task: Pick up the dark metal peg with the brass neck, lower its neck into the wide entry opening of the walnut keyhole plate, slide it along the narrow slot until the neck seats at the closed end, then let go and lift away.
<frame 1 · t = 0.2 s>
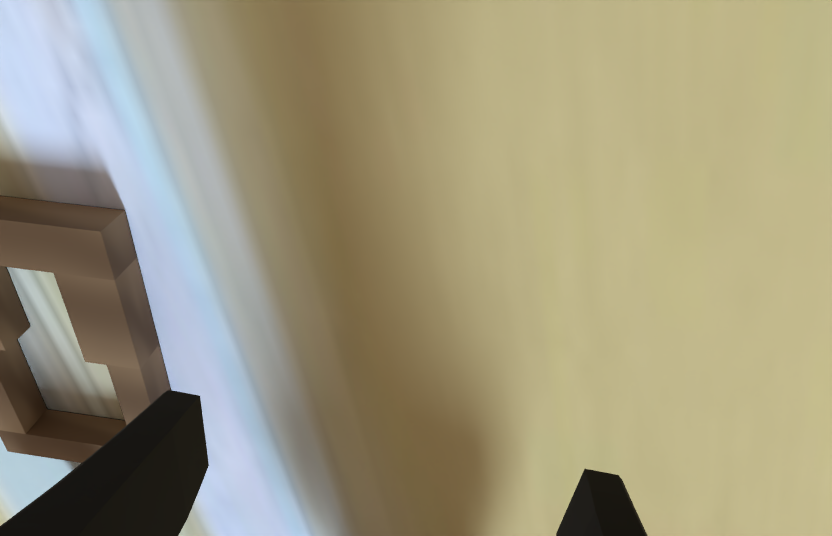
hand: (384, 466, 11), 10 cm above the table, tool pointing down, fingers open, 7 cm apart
keyhole plate: (69, 335, 25), on the table
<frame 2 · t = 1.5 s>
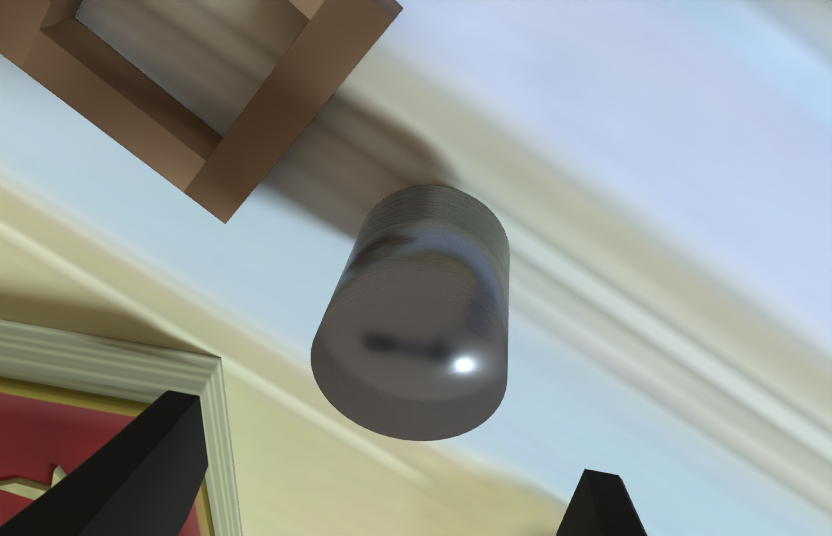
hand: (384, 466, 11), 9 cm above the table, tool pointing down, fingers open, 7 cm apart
peg: (439, 223, 19), on the table
hardcover book: (136, 477, 30), on the table
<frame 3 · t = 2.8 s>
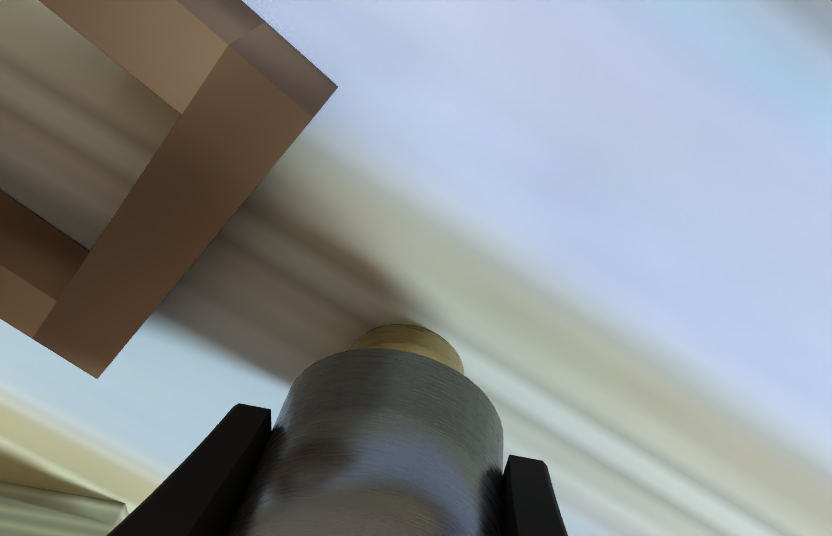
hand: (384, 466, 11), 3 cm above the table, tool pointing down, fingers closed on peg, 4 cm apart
peg: (405, 370, 13), on the table, touching gripper
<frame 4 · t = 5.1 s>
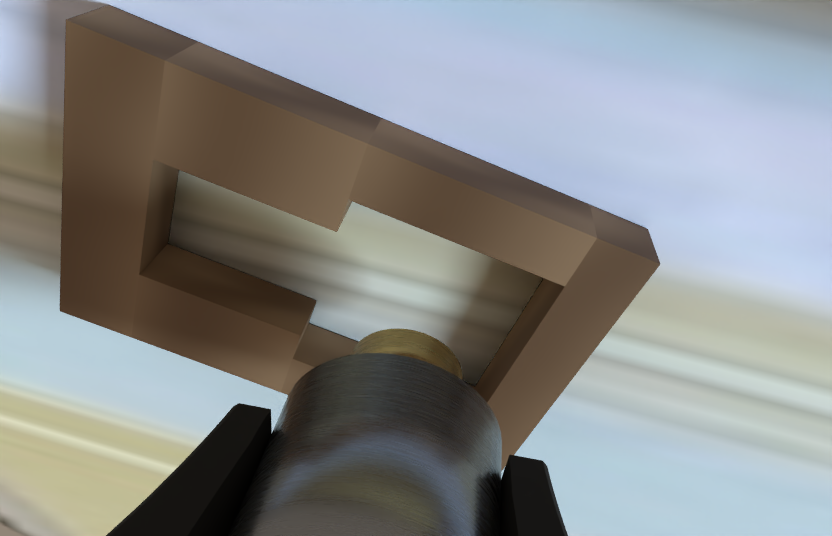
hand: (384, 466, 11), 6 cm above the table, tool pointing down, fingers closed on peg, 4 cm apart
peg: (404, 373, 14), point 3 cm above the table, touching gripper
keyhole plate: (340, 256, 16), on the table
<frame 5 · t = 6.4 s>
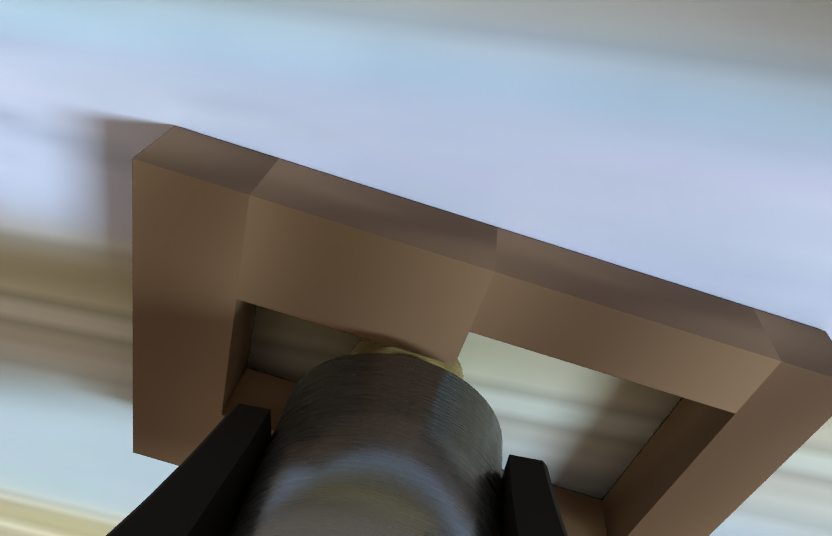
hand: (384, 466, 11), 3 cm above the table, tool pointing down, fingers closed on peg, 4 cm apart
peg: (405, 373, 14), resting in keyhole plate, touching gripper
keyhole plate: (445, 374, 14), on the table
when the fingers open (3 cm above the table, at t = 7.4 s): peg stays where it is, resting in keyhole plate.
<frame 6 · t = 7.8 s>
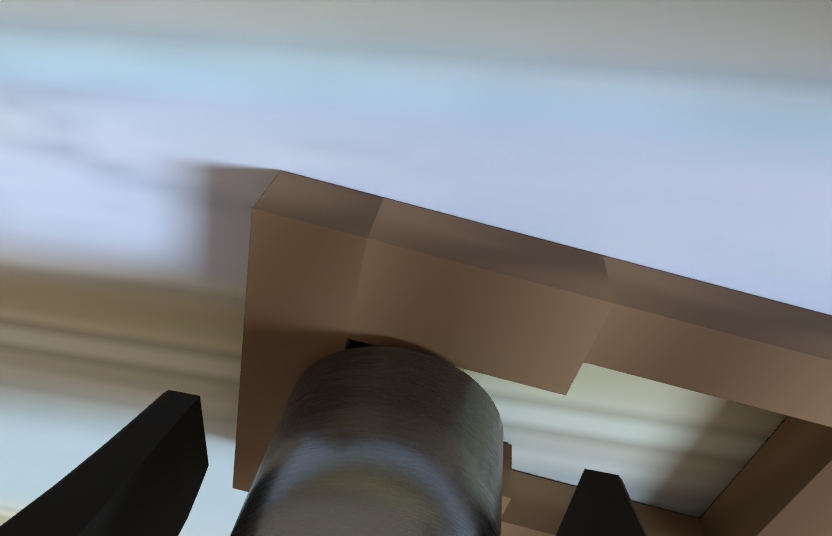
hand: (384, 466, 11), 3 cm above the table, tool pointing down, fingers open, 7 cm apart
peg: (407, 367, 14), resting in keyhole plate
keyhole plate: (542, 400, 14), on the table
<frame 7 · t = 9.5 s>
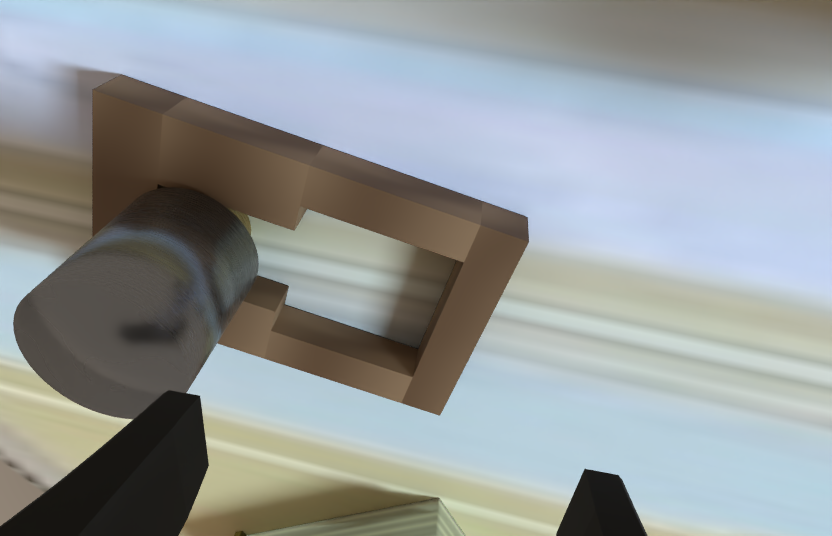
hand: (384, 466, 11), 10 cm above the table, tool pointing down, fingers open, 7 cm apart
peg: (214, 222, 20), resting in keyhole plate
keyhole plate: (303, 250, 21), on the table
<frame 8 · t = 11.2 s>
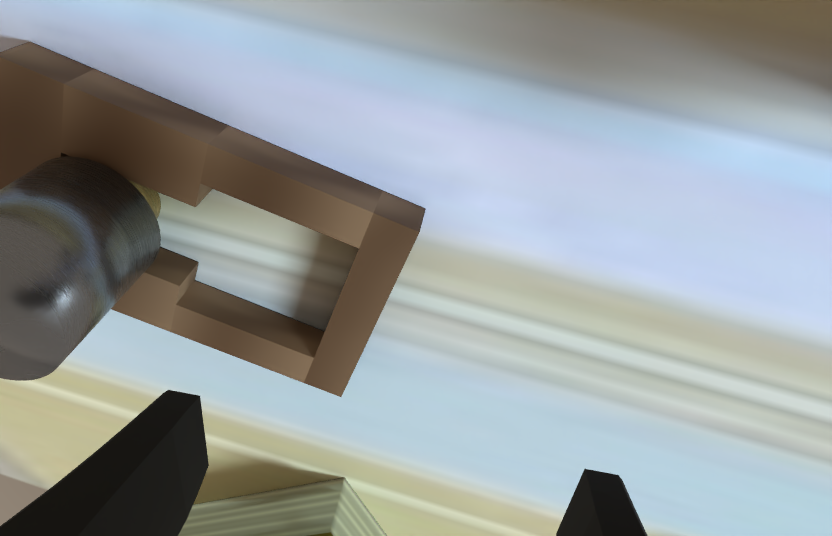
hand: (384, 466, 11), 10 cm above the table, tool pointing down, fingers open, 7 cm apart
peg: (124, 195, 21), resting in keyhole plate
keyhole plate: (211, 228, 21), on the table
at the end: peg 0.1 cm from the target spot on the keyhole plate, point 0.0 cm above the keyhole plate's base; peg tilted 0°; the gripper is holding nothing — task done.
